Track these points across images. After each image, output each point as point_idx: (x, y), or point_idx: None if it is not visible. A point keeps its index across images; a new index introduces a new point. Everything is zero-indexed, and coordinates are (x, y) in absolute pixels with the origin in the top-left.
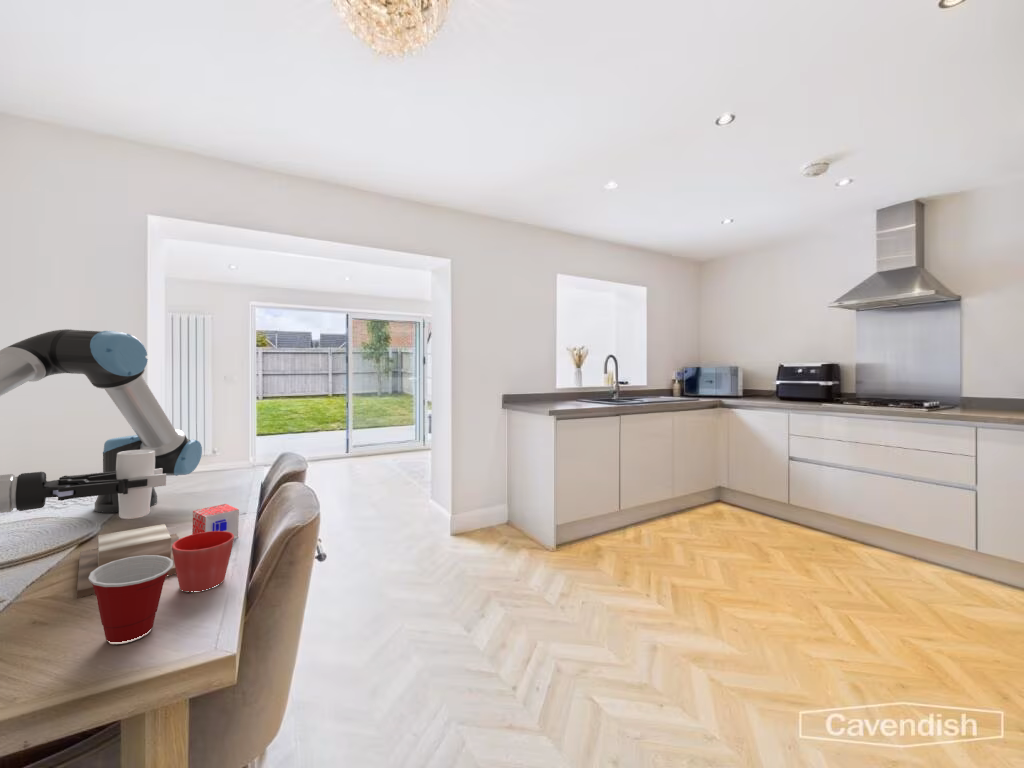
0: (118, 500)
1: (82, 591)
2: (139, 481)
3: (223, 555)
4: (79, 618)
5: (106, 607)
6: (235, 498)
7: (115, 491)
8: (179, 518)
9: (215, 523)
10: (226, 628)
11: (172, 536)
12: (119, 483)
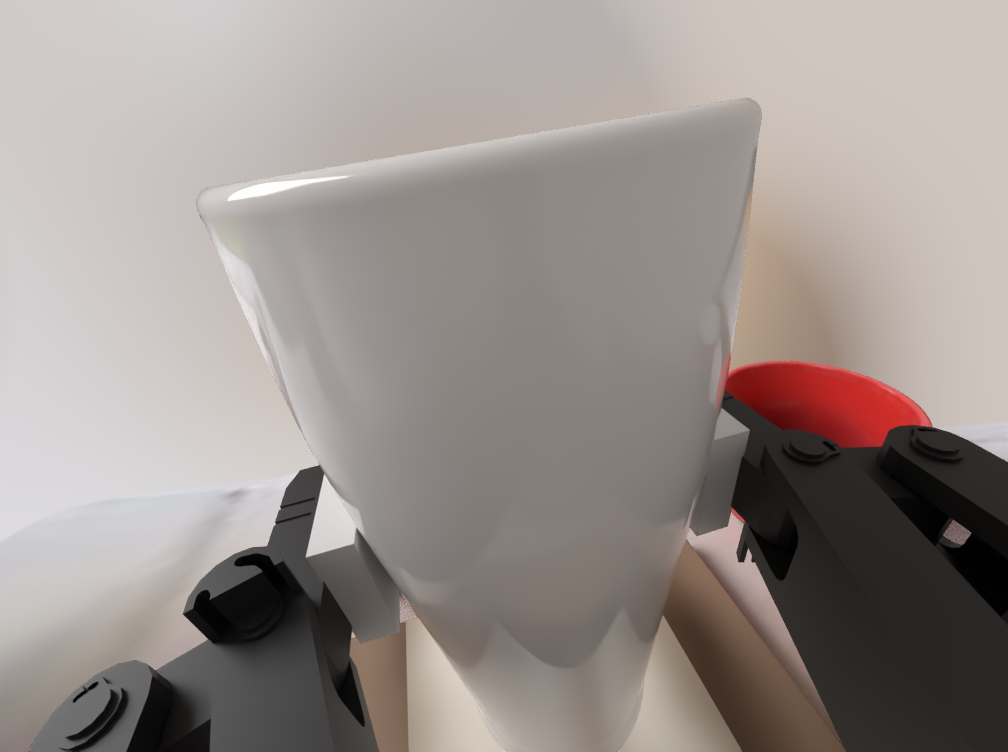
0: (593, 722)
1: None
2: (730, 400)
3: (815, 398)
4: None
5: None
6: (22, 539)
7: (970, 553)
8: (36, 707)
9: None
10: (996, 431)
11: (356, 654)
12: (973, 460)
